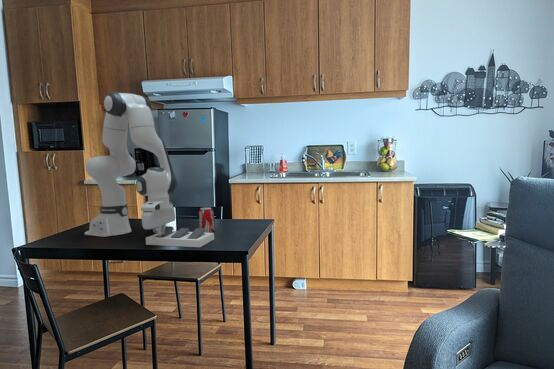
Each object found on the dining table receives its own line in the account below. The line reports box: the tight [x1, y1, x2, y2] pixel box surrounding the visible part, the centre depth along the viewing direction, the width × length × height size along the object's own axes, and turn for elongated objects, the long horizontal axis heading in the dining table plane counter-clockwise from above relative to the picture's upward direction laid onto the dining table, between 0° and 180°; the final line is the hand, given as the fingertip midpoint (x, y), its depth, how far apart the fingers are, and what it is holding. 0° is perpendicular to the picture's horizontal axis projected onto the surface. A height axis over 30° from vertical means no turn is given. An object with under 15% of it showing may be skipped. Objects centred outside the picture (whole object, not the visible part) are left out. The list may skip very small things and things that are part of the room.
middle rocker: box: [171, 227, 190, 238], centre depth 168 cm, size 4×9×2 cm, turn 164°
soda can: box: [198, 206, 215, 233], centre depth 186 cm, size 7×7×12 cm
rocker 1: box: [156, 226, 174, 237], centre depth 170 cm, size 4×9×2 cm, turn 164°
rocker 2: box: [187, 227, 205, 239], centre depth 165 cm, size 4×9×2 cm, turn 164°
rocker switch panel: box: [145, 230, 215, 248], centre depth 168 cm, size 26×14×3 cm, turn 74°
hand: (160, 235), depth 167 cm, fingers closed
